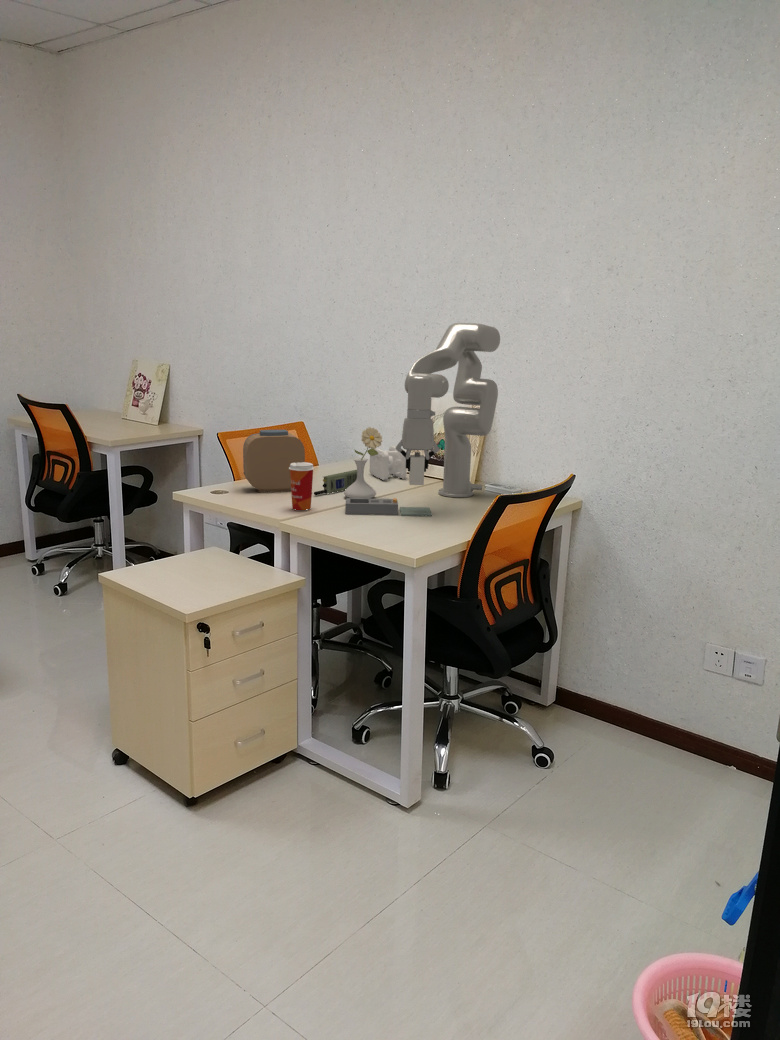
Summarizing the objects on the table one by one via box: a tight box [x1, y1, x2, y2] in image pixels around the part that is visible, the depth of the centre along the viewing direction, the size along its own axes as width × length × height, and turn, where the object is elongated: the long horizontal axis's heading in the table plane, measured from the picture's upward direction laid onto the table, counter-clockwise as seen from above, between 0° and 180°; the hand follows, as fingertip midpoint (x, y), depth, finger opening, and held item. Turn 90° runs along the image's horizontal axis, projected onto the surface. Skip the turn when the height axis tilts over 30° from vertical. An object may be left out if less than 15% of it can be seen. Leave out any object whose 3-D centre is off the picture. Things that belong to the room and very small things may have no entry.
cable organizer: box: [369, 445, 408, 481], centre depth 327 cm, size 15×11×12 cm
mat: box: [399, 506, 433, 517], centre depth 273 cm, size 10×10×1 cm
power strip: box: [344, 497, 399, 516], centre depth 272 cm, size 17×8×4 cm, turn 92°
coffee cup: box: [289, 461, 315, 511], centre depth 272 cm, size 8×8×15 cm
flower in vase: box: [343, 426, 383, 499], centre depth 289 cm, size 13×11×25 cm
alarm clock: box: [242, 429, 306, 493], centre depth 299 cm, size 21×10×22 cm, turn 108°
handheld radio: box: [313, 469, 357, 496], centre depth 301 cm, size 7×3×25 cm
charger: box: [408, 451, 425, 486], centre depth 269 cm, size 4×4×10 cm
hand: (416, 470), depth 269 cm, fingers closed on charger, 4 cm apart
